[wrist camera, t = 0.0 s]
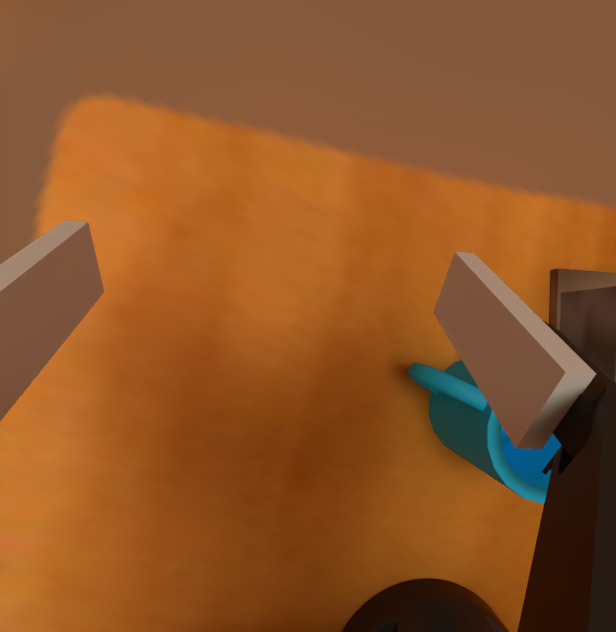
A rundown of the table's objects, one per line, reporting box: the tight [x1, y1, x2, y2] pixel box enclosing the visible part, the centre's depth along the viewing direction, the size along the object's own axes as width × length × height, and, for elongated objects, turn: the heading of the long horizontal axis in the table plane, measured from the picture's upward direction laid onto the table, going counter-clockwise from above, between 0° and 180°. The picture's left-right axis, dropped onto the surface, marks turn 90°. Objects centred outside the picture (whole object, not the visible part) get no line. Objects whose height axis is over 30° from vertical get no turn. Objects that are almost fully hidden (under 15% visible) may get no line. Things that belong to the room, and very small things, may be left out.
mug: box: [408, 360, 561, 503], centre depth 26 cm, size 12×8×8 cm
